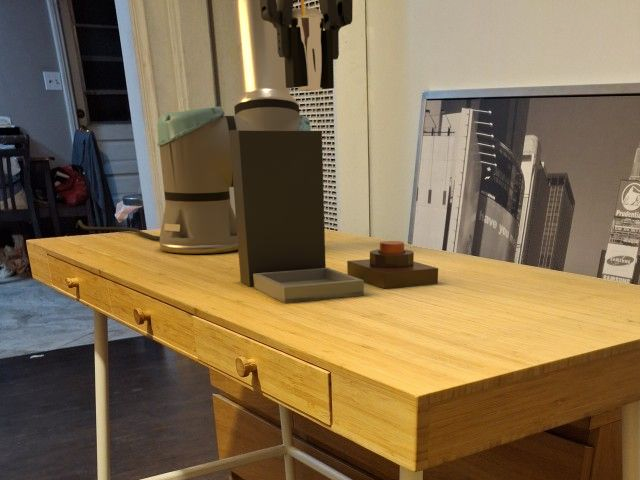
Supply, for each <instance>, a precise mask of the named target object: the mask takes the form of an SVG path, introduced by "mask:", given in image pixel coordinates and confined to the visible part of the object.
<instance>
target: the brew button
mask: <svg viewBox="0 0 640 480" xmlns="http://www.w3.org/2000/svg"><path fill="white" fill-rule="evenodd" d="M379 249H380V253H384V254H402V253H404V249H405V241H404V242H403V241H399V240H384V241H380V242H379Z"/></svg>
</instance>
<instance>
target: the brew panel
mask: <svg viewBox="0 0 640 480" xmlns="http://www.w3.org/2000/svg"><path fill="white" fill-rule="evenodd" d="M414 257H415V252H414V250H410V249H406V248H404V253H402V254H384V253H380V248H379V249H378V248H376V249H372V250H370V251H369V259H368V258H366V259H353V260H347V261H346V268H347V269H346V272H347V273H346V274H347V275H350V276H353V277H356V278H359V279H362V280H364V283H367V284H370V285H373V286H376V287H378V288H381V289H385V290H386V289H396V288H406V287H417V286H426V285H427V286H428V285H437V284H439V267H435V266H432V265H428V264H424V263H422V262H417V261H414V259H415V258H414Z"/></svg>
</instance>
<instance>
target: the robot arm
mask: <svg viewBox="0 0 640 480" xmlns="http://www.w3.org/2000/svg"><path fill="white" fill-rule="evenodd" d="M294 1H295V0H232V4H233V15H234V26H235V36H236V48H237V58H238V69H239V70H238V71H239V79H240V81H239V82H240V92H241V94H240V97H239V98H238V100H237V101H236V102H235V103H234V104H233V105H234V106H233V109H234V115H225V111H224V109H223V107H222V106H212V107H204V108H203V107H202V108H197V109H189V110H182V111H175V112H174V111H173V112H169V113H168V112H167V113H164V114H162V115H161V116H160V117H159V118H158V119H157V122H156V123H157V124H156V128H157V143H156V144H157V147H159V157H160V166H161V176H162V186H163V192H164V202H165V203H164V204H165V206H164V212H163V217H162V223H161V228H160V233H159V235H154V234H151V233H147V232H145V231H143V230H140V229H139V228H135V227H124V226H123V227H122V226H86V225H85V224H84V223H83V220H80V219H79V220H77V223H76V227H75V228H76V229H80V228H81V229H82V230H84V231H89V232H130V233H136V234H138V235H139V236H141V237H144V238H147V239H150V240H152V241H154V240H155V241H159V248H160V250H161V251H163V252H165V253H172V254H188V255H192V254H193V255H199V254H200V255H202V254H203V255H205V254H221V253H229V252H235V251H238V239H237V226H236V214H235V211H234V210H233V207H232V204H231V192H230V188H234V187H233V174H232V161H231V148H230V135H229V130H261V131H312V129H311V122H310V119H309V117H308V116H305V115H304V114H303V115H301V113H300V112H301V111H300V104H299V102H298V101H297V100H296V99H295V98H294V97H293V96H292V94H291V93H290V89H295V88H298V87H299V64H298V39H297V27H290V23H291V18H292V10H293V9H294ZM353 1H354V0H318V4H319V11H320V12H321V13H322V15H323V17H324V25H323V90H330V89H331V90H332V89H334V88H335V78H334V77H335V76H334V75H335V74H334V73H335V72H334V61H335V60H338V59H339V56H340V50H339V49H340V43H339V41H340V40H339V35H340V30H341V29H342V28H343V27H346V26H348V25H352V22H353V8H354V7H353V5H354V4H353Z"/></svg>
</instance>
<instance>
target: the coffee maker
mask: <svg viewBox="0 0 640 480" xmlns="http://www.w3.org/2000/svg"><path fill="white" fill-rule="evenodd" d="M229 135H230V148H231V161H232V174H233V187H232V188H233V198H234V200H233V201H234V214H235V217H236V226H237V239H238V250H237V252H238V265H239V278H240V283H241V284H244V285H246V286H248V287H250V288H253V289H255V290H258V291H259V292H261V293H264V294H266V295H267V296H270V297H271V298H274V299H276V300H278V301H280V302H282V303H284V304H290V303H299V302H310V301H321V300H329V299H339V298H340V299H341V298H350V297H361V296H365V282H364V280H362V279H359V278H356V277H353V276H350V275H347V273H344V272H341V271H338V270H335V269H333V268H330V267H326V265H327V264H326V236H325V235H326V234H325V233H326V231H325V197H324V196H325V194H324V193H325V192H324V161H323V159H324V158H323V131H322V130H311V131H261V130H229Z"/></svg>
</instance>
